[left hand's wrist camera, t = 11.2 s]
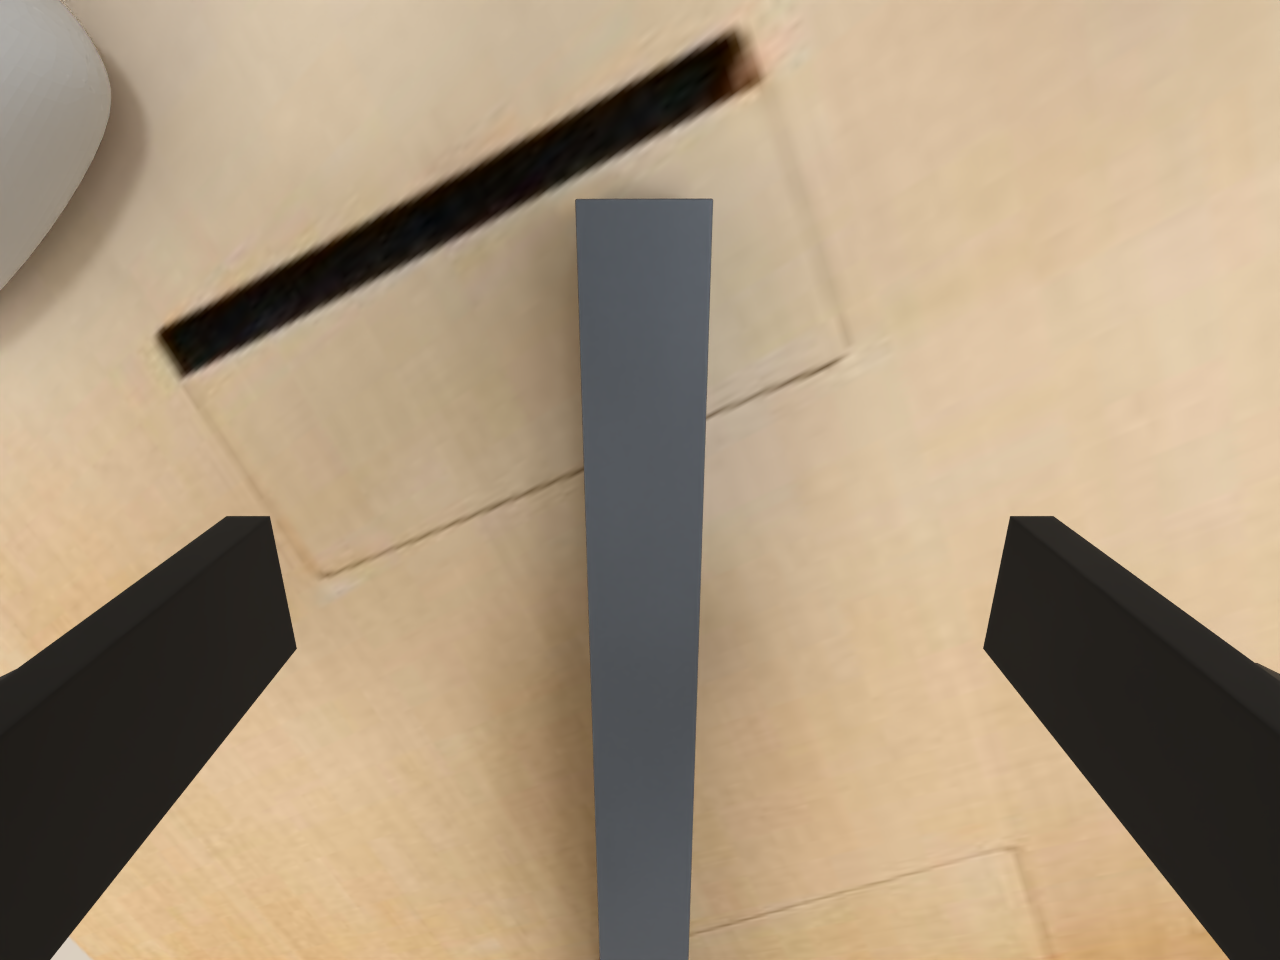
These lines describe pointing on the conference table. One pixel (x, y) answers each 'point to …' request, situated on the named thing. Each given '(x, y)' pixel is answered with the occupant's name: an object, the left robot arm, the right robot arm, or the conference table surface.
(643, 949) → the post
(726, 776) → the conference table surface
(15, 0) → the projector
